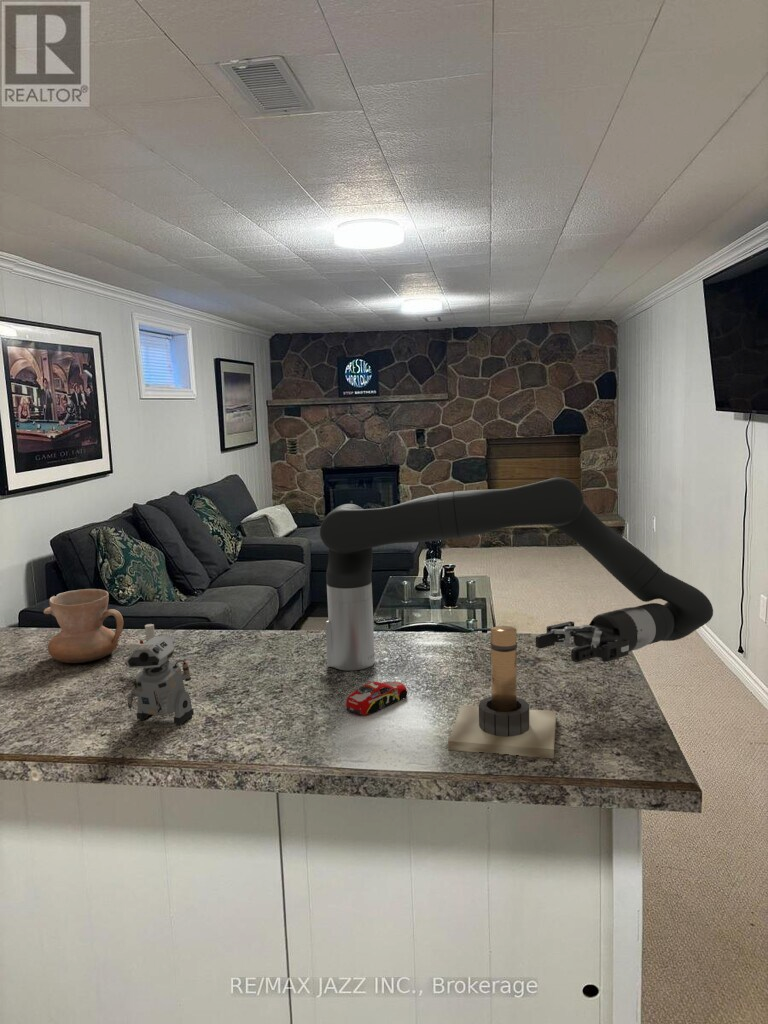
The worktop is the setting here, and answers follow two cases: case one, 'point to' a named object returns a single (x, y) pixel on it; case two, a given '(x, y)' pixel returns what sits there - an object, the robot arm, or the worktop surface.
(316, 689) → the worktop surface
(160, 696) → the figurine
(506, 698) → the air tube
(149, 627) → the pipe connector
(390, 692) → the race car
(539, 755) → the collar plate
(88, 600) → the ceramic jug
